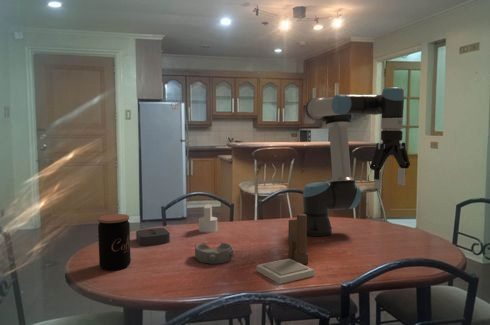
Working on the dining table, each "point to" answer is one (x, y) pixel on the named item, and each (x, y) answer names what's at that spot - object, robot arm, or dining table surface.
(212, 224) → the base with upright slab
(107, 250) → the coffee jar
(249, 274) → the dining table surface
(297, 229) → the wooden block
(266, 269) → the stand
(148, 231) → the streaming box
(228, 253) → the dish
